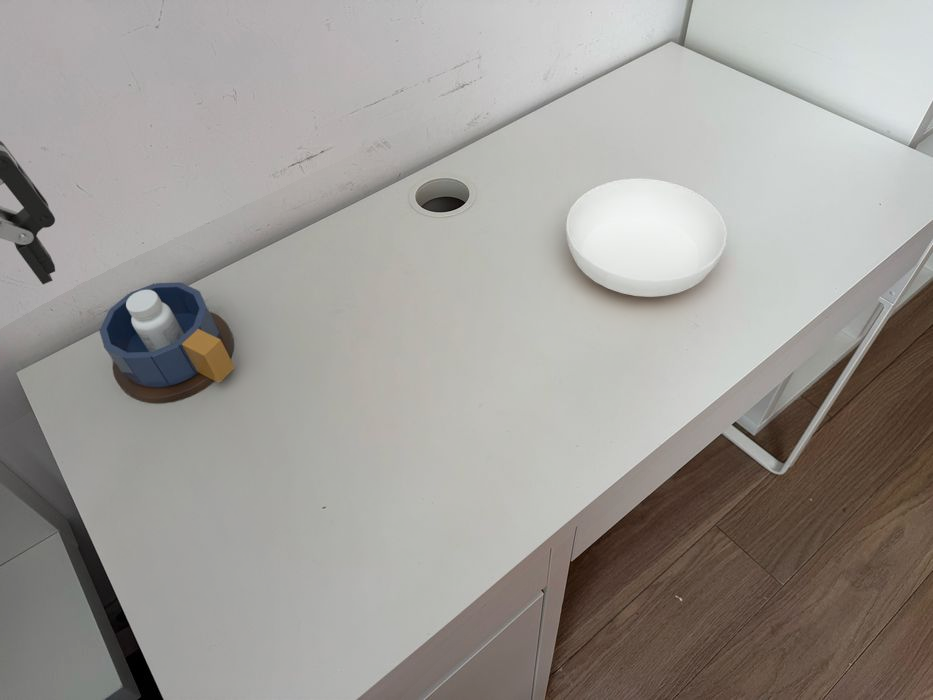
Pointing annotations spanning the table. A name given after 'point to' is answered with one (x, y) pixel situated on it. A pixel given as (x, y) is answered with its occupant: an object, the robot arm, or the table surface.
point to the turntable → (179, 389)
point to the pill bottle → (153, 320)
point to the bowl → (645, 236)
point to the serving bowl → (178, 359)
